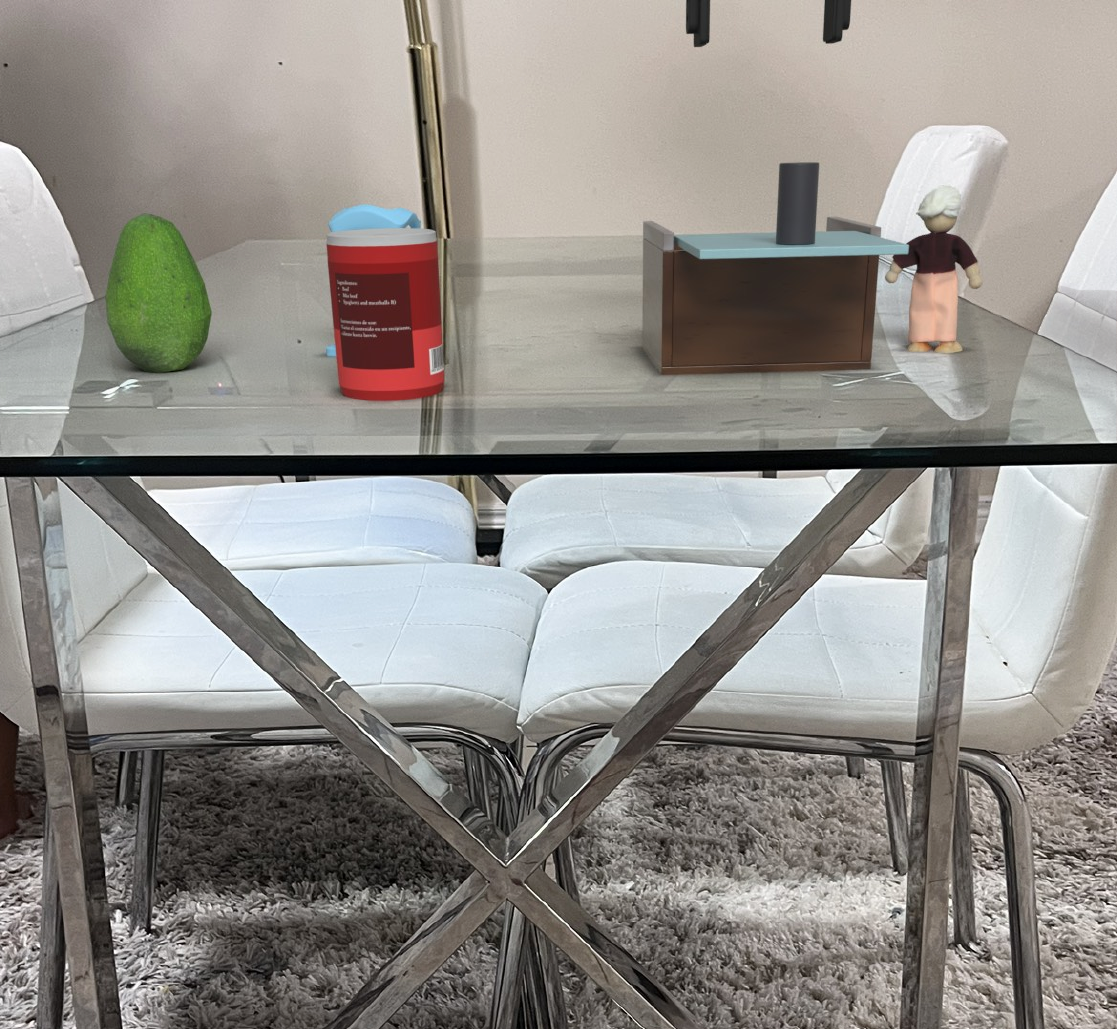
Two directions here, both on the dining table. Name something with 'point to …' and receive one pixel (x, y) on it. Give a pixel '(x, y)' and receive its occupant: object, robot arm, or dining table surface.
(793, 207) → the lid
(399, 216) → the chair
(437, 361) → the canned food
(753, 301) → the box
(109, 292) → the avocado
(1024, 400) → the dining table surface
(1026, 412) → the dining table surface
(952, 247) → the grandmother figurine
